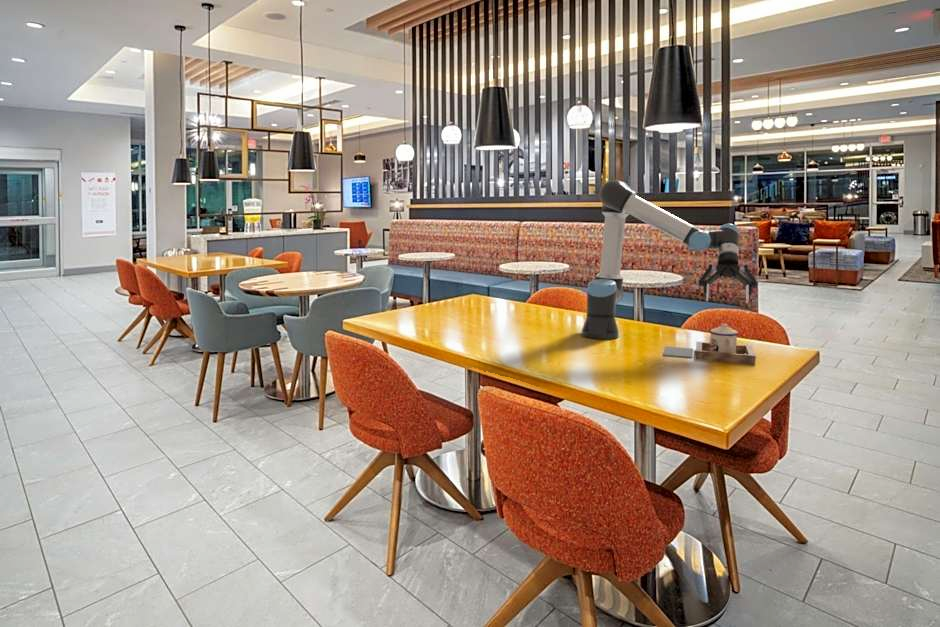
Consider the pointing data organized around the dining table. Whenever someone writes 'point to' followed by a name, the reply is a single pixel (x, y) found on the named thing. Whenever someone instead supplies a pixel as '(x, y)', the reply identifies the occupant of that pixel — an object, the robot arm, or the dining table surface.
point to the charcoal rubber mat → (678, 352)
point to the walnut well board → (725, 354)
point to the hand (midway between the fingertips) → (727, 300)
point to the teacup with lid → (723, 339)
